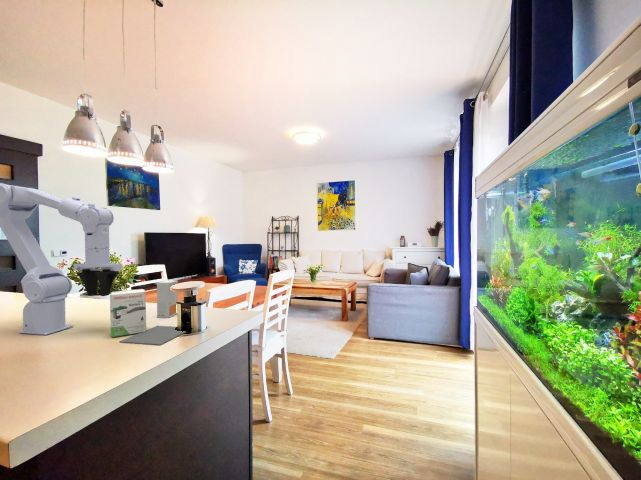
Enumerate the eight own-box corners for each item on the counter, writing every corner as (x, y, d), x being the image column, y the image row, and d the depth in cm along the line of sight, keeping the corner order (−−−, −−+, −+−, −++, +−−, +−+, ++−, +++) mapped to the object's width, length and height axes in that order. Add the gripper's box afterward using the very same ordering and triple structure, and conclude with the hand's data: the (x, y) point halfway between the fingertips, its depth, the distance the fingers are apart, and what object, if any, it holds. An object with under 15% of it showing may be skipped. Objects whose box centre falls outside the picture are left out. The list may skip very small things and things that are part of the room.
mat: (119, 342, 79) (119, 341, 79) (157, 326, 93) (157, 325, 93) (160, 345, 77) (160, 344, 77) (193, 328, 90) (193, 327, 90)
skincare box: (168, 318, 102) (168, 282, 102) (156, 317, 102) (156, 282, 102) (178, 313, 108) (178, 280, 108) (166, 313, 108) (166, 279, 108)
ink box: (110, 337, 82) (108, 294, 82) (111, 333, 86) (109, 291, 86) (147, 331, 87) (145, 290, 87) (146, 327, 91) (144, 288, 91)
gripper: (130, 248, 90) (131, 293, 91) (89, 248, 93) (90, 292, 93) (109, 249, 84) (111, 298, 84) (66, 249, 86) (67, 296, 86)
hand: (98, 295), depth 88 cm, fingers open, 4 cm apart
